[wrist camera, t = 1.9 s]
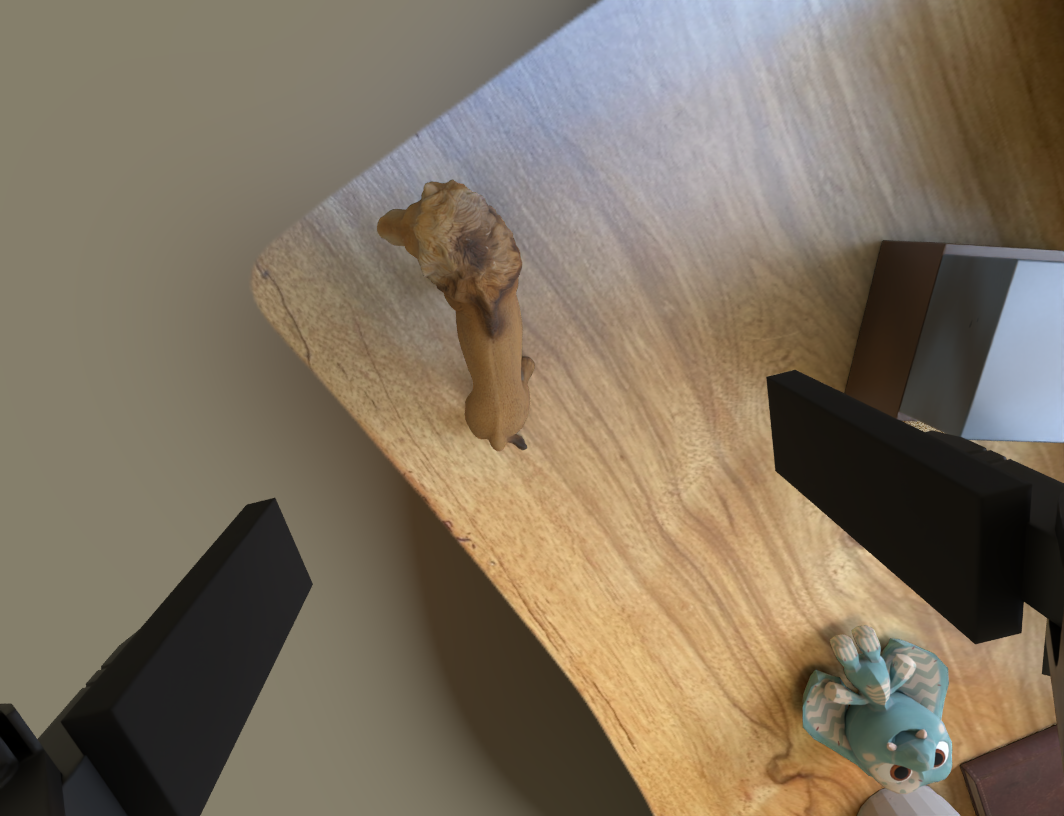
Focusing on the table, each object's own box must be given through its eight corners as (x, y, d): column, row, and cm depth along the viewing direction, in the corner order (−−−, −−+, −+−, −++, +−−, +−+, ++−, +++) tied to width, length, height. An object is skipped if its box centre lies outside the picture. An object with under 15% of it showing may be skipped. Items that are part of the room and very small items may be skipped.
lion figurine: (393, 205, 28) (352, 198, 20) (492, 174, 28) (494, 153, 20) (483, 457, 33) (481, 539, 25) (569, 431, 33) (597, 504, 24)
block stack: (882, 240, 31) (1021, 246, 23) (1063, 251, 32) (1259, 261, 24) (843, 395, 34) (955, 450, 25) (1011, 402, 34) (1170, 456, 26)
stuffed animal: (974, 636, 33) (1037, 797, 35) (897, 581, 40) (952, 717, 42) (805, 705, 34) (873, 860, 35) (758, 639, 41) (817, 771, 43)
